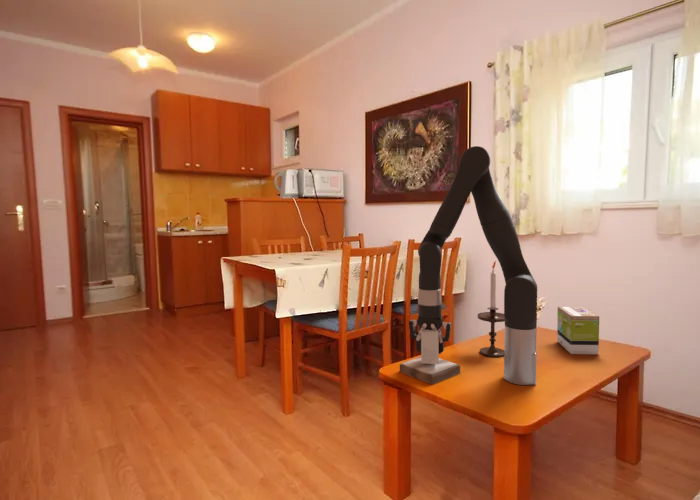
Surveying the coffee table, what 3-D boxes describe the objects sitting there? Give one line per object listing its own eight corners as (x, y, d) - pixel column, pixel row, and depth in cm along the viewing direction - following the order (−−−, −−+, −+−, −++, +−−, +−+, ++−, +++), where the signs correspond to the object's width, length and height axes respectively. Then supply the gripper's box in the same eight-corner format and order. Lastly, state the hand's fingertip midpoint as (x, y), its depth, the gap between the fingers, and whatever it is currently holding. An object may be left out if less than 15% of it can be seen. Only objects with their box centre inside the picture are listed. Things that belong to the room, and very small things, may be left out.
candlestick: (506, 349, 160) (507, 258, 157) (509, 359, 150) (511, 262, 147) (476, 347, 163) (477, 258, 160) (478, 357, 153) (478, 262, 149)
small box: (438, 364, 134) (438, 332, 133) (421, 363, 135) (420, 331, 134) (438, 356, 142) (438, 325, 141) (421, 355, 143) (421, 325, 142)
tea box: (556, 341, 169) (556, 305, 167) (582, 342, 167) (583, 306, 166) (570, 354, 154) (571, 315, 152) (599, 355, 152) (600, 315, 151)
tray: (460, 373, 138) (460, 364, 138) (432, 384, 129) (432, 375, 129) (427, 362, 149) (427, 353, 149) (399, 371, 140) (399, 363, 140)
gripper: (453, 301, 138) (453, 350, 139) (410, 298, 143) (411, 346, 144) (450, 306, 131) (450, 358, 132) (405, 303, 136) (406, 353, 137)
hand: (429, 351), depth 138 cm, fingers closed on small box, 6 cm apart
